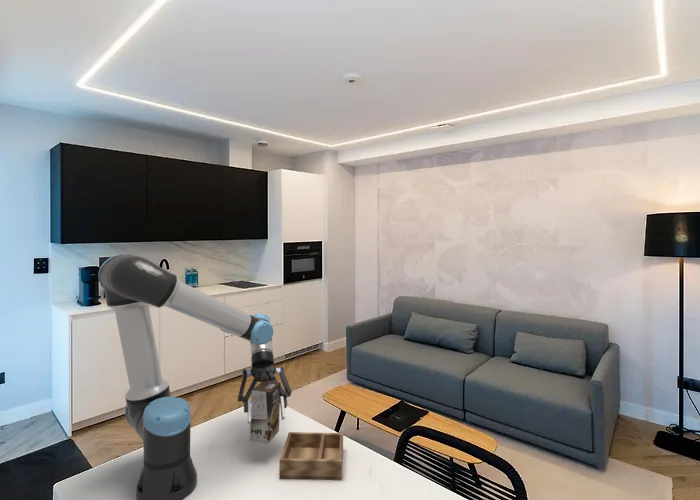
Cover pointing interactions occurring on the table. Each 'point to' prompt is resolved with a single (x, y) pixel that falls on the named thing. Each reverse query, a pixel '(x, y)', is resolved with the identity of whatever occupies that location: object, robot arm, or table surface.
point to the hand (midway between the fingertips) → (266, 420)
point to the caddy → (312, 456)
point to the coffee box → (265, 412)
